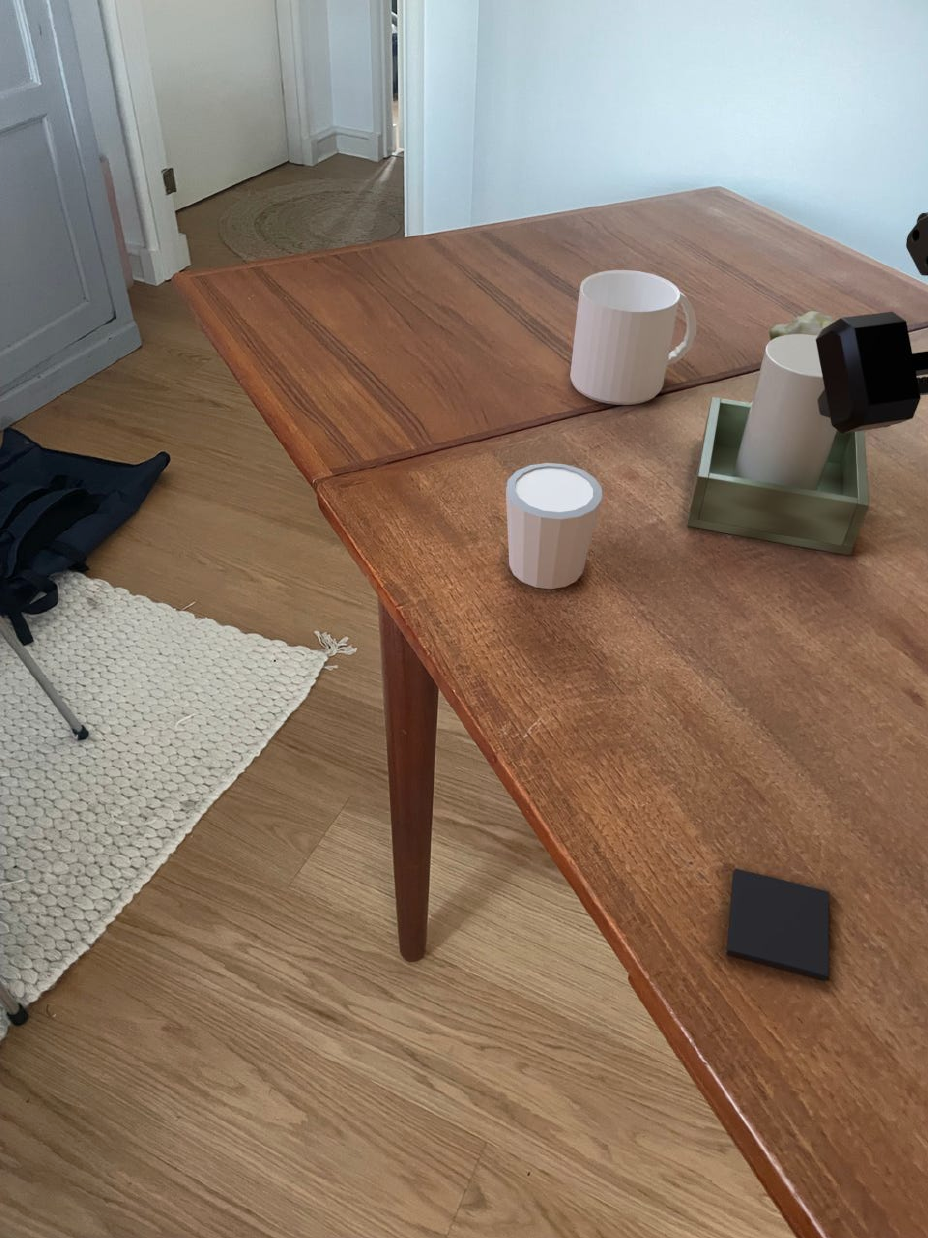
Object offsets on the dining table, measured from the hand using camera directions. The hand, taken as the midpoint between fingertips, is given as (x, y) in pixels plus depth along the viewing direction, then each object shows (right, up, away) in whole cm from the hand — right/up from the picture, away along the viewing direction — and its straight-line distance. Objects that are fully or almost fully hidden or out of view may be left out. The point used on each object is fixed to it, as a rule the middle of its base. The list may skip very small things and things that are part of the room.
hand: (880, 398), depth 63 cm
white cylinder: (-3, -4, +14) cm, 15 cm away
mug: (-12, +8, +29) cm, 32 cm away
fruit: (+6, +9, +30) cm, 32 cm away
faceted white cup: (-22, -11, +8) cm, 26 cm away
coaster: (-12, -31, -14) cm, 36 cm away
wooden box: (-3, -5, +15) cm, 16 cm away
